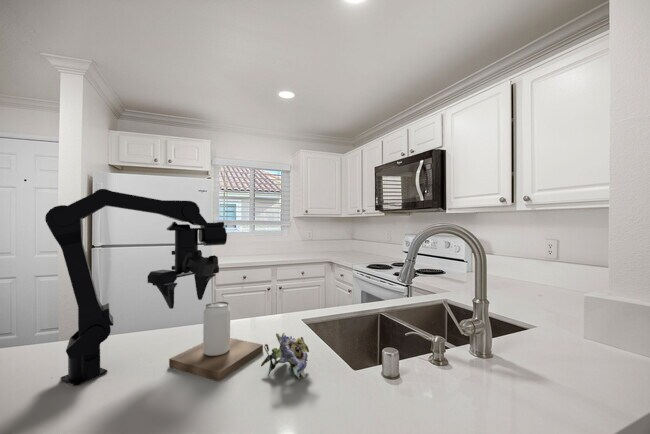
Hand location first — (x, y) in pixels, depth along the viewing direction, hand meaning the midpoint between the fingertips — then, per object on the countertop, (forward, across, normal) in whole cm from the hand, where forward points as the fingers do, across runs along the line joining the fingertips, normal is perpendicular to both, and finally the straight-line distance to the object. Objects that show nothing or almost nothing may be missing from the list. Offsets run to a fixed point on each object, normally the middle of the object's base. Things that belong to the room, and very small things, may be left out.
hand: (186, 303), depth 81 cm
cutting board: (+13, 0, -12) cm, 17 cm away
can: (+11, 0, -11) cm, 16 cm away
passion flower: (+13, +1, -31) cm, 34 cm away
